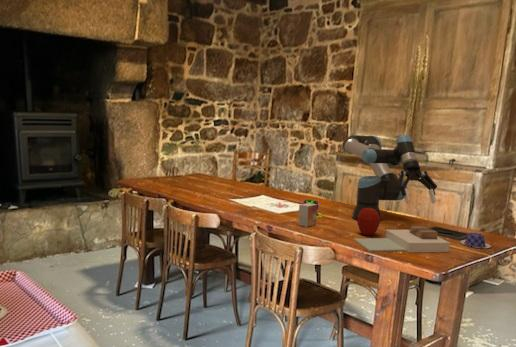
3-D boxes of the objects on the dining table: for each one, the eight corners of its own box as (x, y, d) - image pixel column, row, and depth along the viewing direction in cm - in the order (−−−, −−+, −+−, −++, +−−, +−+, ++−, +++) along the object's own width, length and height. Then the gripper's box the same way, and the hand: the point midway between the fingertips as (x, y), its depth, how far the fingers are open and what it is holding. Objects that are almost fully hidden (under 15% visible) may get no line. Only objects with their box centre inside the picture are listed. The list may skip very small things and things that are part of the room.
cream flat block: (385, 238, 182) (386, 229, 181) (421, 237, 185) (422, 229, 184) (408, 252, 162) (409, 243, 162) (448, 251, 165) (449, 242, 164)
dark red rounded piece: (375, 239, 180) (378, 208, 178) (353, 235, 184) (355, 205, 183) (380, 234, 189) (383, 205, 187) (359, 230, 193) (361, 202, 192)
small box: (307, 227, 195) (308, 206, 194) (297, 225, 199) (298, 204, 198) (316, 224, 201) (317, 204, 200) (307, 222, 205) (308, 202, 204)
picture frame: (422, 233, 195) (460, 242, 182) (423, 229, 195) (461, 237, 182) (434, 229, 204) (472, 237, 191) (435, 225, 204) (472, 233, 191)
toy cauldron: (292, 212, 228) (293, 193, 226) (316, 211, 233) (317, 192, 231) (303, 218, 214) (304, 198, 212) (328, 217, 218) (329, 197, 217)
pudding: (482, 251, 169) (483, 239, 168) (454, 243, 178) (455, 232, 178) (495, 247, 176) (497, 235, 175) (468, 240, 185) (469, 229, 185)
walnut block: (409, 232, 178) (409, 226, 177) (423, 232, 179) (424, 226, 178) (421, 239, 168) (422, 232, 167) (437, 239, 169) (437, 232, 169)
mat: (353, 239, 177) (354, 238, 177) (387, 239, 180) (387, 238, 180) (369, 251, 161) (369, 250, 161) (406, 251, 164) (406, 249, 164)
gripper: (390, 158, 195) (400, 198, 185) (437, 160, 199) (449, 199, 189) (383, 166, 201) (393, 205, 191) (429, 167, 205) (440, 205, 195)
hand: (421, 202), depth 190 cm, fingers open, 13 cm apart
